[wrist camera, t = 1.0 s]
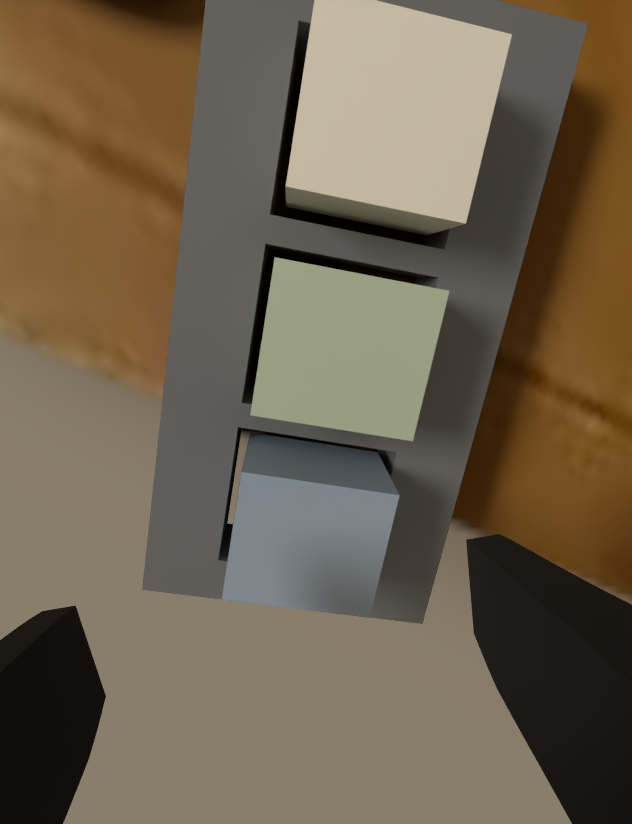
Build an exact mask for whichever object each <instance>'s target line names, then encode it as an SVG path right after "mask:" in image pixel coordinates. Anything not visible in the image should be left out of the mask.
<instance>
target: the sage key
mask: <svg viewBox="0 0 632 824" xmlns="http://www.w3.org/2000/svg"><path fill="white" fill-rule="evenodd" d="M448 295H449V291H448V290H442V289H437V288H432V287H427V286H422V285H416V284H411V283H406V282H401V281H396V280H391V279H385V278H380V277H375V276H370V275H365V274H359V273H354V272H349V271H344V270H339V269H333V268H328V267H323V266H318V265H313V264H308V263H302V262H297V261H292V260H287V259H282V258H276V257H275V258H274V264H273V271H272V277H271V284H270V290H269V297H268V303H267V310H266V316H265V323H264V329H263V336H262V342H261V348H260V355H259V361H258V368H257V374H256V381H255V387H254V394H253V400H252V407H251V413H250V415H252V416H258V417H264V418H270V419H277V420H283V421H289V422H295V423H302V424H308V425H314V426H320V427H327V428H333V429H339V430H345V431H352V432H358V433H364V434H370V435H377V436H383V437H389V438H396V439H402V440H408V441H413V438H414V434H415V430H416V426H417V422H418V418H419V414H420V410H421V406H422V402H423V397H424V393H425V389H426V385H427V381H428V377H429V373H430V369H431V365H432V361H433V356H434V352H435V348H436V344H437V340H438V336H439V332H440V328H441V324H442V320H443V316H444V311H445V307H446V303H447V299H448Z"/></svg>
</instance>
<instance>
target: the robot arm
mask: <svg viewBox="0 0 632 824" xmlns="http://www.w3.org/2000/svg"><path fill="white" fill-rule="evenodd" d="M466 541H467V553H468V565H469V577H470V590H471V603H472V615H473V627H474V635H475V637H476V640H477V642H478V644H479V647H480V649H481V652H482V654H483V657H484V659H485V662H486V664H487V666H488V669H489V671H490V673H491V676H492V678H493V680H494V683H495V685H496V687H497V689H498V691H499V693H500V695H501V696H502V698H503V700H504V702H505V704H506V706H507V708H508V709H509V711H510V713H511V715H512V717H513V719H514V720H515V722H516V724H517V726H518V728H519V729H520V731H521V733H522V735H523V737H524V738H525V740H526V742H527V744H528V746H529V747H530V749H531V751H532V752H533V754H534V756H535V758H536V760H537V761H538V763H539V765H540V767H541V769H542V771H543V772H544V774H545V776H546V778H547V780H548V781H549V783H550V785H551V787H552V788H553V790H554V792H555V794H556V795H557V797H558V799H559V801H560V803H561V805H562V806H563V808H564V810H565V811H566V813H567V815H568V817H569V819H570V821H571V822H572V824H632V605H631V604H629V603H627V602H625V601H623V600H621V599H619V598H617V597H615V596H614V595H612V594H610V593H608V592H606V591H604V590H602V589H600V588H598V587H596V586H594V585H592V584H590V583H588V582H587V581H585V580H583V579H581V578H579V577H577V576H575V575H573V574H572V573H570V572H568V571H566V570H564V569H563V568H561V567H559V566H557V565H555V564H553V563H552V562H550V561H548V560H546V559H544V558H543V557H541V556H539V555H537V554H535V553H534V552H532V551H530V550H528V549H526V548H525V547H523V546H521V545H519V544H517V543H516V542H514V541H512V540H510V539H508V538H506V537H504V536H502V535H500V534H498V535H492V536H486V537H480V538H474V539H468V540H466ZM105 698H106V696H105V693H104V690H103V687H102V684H101V681H100V678H99V675H98V672H97V669H96V666H95V663H94V660H93V657H92V654H91V651H90V648H89V645H88V642H87V639H86V636H85V633H84V630H83V627H82V624H81V621H80V618H79V615H78V612H77V609H76V606H71V607H65V608H59V609H53V610H47V611H42V612H40V613H39V614H37V615H36V616H34V617H32V618H31V619H29V620H28V621H26V622H25V623H23V624H22V625H21V626H19V627H18V628H16V629H15V630H14V631H12V632H11V633H9V634H8V635H7V636H5V637H4V638H3V639H1V640H0V824H63V822H64V820H65V817H66V815H67V812H68V810H69V807H70V805H71V802H72V800H73V797H74V795H75V792H76V790H77V787H78V785H79V782H80V780H81V777H82V775H83V772H84V770H85V767H86V764H87V762H88V759H89V756H90V753H91V749H92V746H93V743H94V739H95V736H96V732H97V728H98V725H99V721H100V717H101V713H102V709H103V705H104V701H105Z"/></svg>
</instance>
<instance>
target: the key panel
mask: <svg viewBox="0 0 632 824" xmlns="http://www.w3.org/2000/svg"><path fill="white" fill-rule="evenodd" d="M377 1H381V2H385V3H389V4H393V5H397V6H401V7H405V8H409V9H413V10H417V11H421V12H425V13H429V14H433V15H437V16H441V17H445V18H449V19H453V20H457V21H461V22H465V23H469V24H473V25H477V26H481V27H485V28H489V29H493V30H497V31H501V32H505V33H509V34H512V37H511V41H510V45H509V49H508V53H507V58H506V62H505V66H504V70H503V74H502V78H501V82H500V86H499V90H498V94H497V98H496V103H495V107H494V111H493V115H492V119H491V123H490V127H489V131H488V135H487V139H486V144H485V148H484V152H483V156H482V160H481V164H480V168H479V172H478V176H477V180H476V184H475V189H474V193H473V197H472V201H471V205H470V209H469V213H468V217H467V221H466V224H463V225H460V226H456V227H453V228H450V229H446V230H443V231H440V232H436V233H433V234H430V235H426V237H425V242H424V245H419V244H414V243H409V242H404V241H399V240H394V239H389V238H384V237H379V236H374V235H369V234H364V233H359V232H354V231H349V230H344V229H339V228H335V227H330V226H325V225H320V224H315V223H310V222H305V221H300V220H295V219H290V218H285V217H280V216H275V215H274V210H275V203H276V197H277V190H278V184H279V177H280V170H281V164H282V157H283V151H284V144H285V137H286V131H287V124H288V117H289V111H290V104H291V98H292V91H293V84H294V78H295V71H296V65H297V62H299V63H303V64H305V58H306V51H307V45H308V38H309V32H310V25H311V19H312V12H313V6H314V0H206V2H205V11H204V20H203V30H202V39H201V48H200V58H199V67H198V76H197V85H196V95H195V104H194V113H193V123H192V132H191V141H190V151H189V160H188V169H187V178H186V188H185V197H184V206H183V216H182V225H181V234H180V244H179V253H178V262H177V271H176V281H175V290H174V299H173V309H172V318H171V327H170V336H169V346H168V355H167V364H166V374H165V383H164V392H163V402H162V411H161V420H160V429H159V430H160V431H159V440H158V449H157V457H156V467H155V477H154V486H153V495H152V505H151V513H150V523H149V532H148V541H147V550H146V551H147V552H146V560H145V569H144V578H143V588H142V589H143V590H150V591H159V592H166V593H174V594H183V595H191V596H200V597H207V598H215V599H222V594H223V588H224V581H225V575H226V568H227V562H228V555H229V549H230V542H231V536H232V529H233V524H227V521H228V514H229V508H230V501H231V494H232V488H233V481H234V474H235V467H236V461H237V455H238V448H239V442H240V435H241V428H246V429H253V430H259V431H265V432H272V433H278V434H285V435H291V436H297V437H304V438H310V439H316V440H323V441H329V442H336V443H342V444H348V445H355V446H361V447H367V448H374V449H377V452H378V454H379V456H380V458H381V460H382V462H383V464H384V466H385V468H386V470H387V472H388V474H389V476H390V478H391V480H392V481H393V483H394V485H395V487H396V489H397V491H398V493H399V495H400V496H399V500H398V504H397V508H396V512H395V516H394V520H393V524H392V528H391V533H390V537H389V541H388V545H387V549H386V553H385V557H384V561H383V565H382V569H381V574H380V578H379V582H378V586H377V590H376V594H375V598H374V602H373V606H372V610H371V614H370V617H372V618H379V619H389V620H396V621H404V622H412V623H421V624H422V623H423V620H424V615H425V612H426V609H427V605H428V601H429V597H430V594H431V591H432V587H433V583H434V580H435V576H436V573H437V569H438V565H439V562H440V558H441V554H442V551H443V547H444V543H445V540H446V536H447V533H448V529H449V525H450V522H451V518H452V515H453V511H454V507H455V504H456V500H457V497H458V493H459V489H460V486H461V482H462V478H463V475H464V471H465V468H466V464H467V460H468V457H469V453H470V450H471V446H472V442H473V439H474V435H475V431H476V428H477V424H478V421H479V417H480V413H481V410H482V406H483V402H484V399H485V395H486V392H487V388H488V384H489V381H490V377H491V374H492V370H493V366H494V363H495V359H496V355H497V352H498V348H499V345H500V341H501V337H502V334H503V330H504V326H505V323H506V319H507V316H508V312H509V308H510V305H511V301H512V298H513V294H514V290H515V287H516V283H517V279H518V276H519V272H520V269H521V265H522V261H523V258H524V254H525V250H526V247H527V243H528V240H529V236H530V232H531V229H532V225H533V222H534V218H535V214H536V211H537V207H538V203H539V200H540V196H541V193H542V189H543V185H544V182H545V178H546V175H547V171H548V167H549V164H550V160H551V156H552V153H553V149H554V146H555V142H556V138H557V135H558V131H559V127H560V124H561V120H562V117H563V113H564V109H565V106H566V102H567V99H568V95H569V91H570V88H571V84H572V80H573V77H574V73H575V70H576V66H577V62H578V59H579V55H580V51H581V48H582V44H583V41H584V37H585V33H586V30H587V26H588V24H587V23H583V22H579V21H576V20H572V19H568V18H564V17H560V16H556V15H552V14H548V13H544V12H540V11H537V10H533V9H529V8H525V7H521V6H517V5H513V4H509V3H505V2H502V1H498V0H377ZM269 249H273V250H278V251H284V252H289V253H294V254H299V255H304V256H309V257H315V258H320V259H325V260H330V261H335V262H340V263H345V264H351V265H356V266H361V267H366V268H371V269H376V270H381V271H387V272H392V273H397V274H402V275H407V276H412V277H416V281H415V284H416V285H422V286H427V287H432V288H437V289H442V290H448V291H449V295H448V299H447V303H446V307H445V311H444V316H443V320H442V324H441V328H440V332H439V336H438V340H437V344H436V348H435V352H434V356H433V361H432V365H431V369H430V373H429V377H428V381H427V385H426V389H425V393H424V397H423V402H422V406H421V410H420V414H419V418H418V422H417V426H416V430H415V434H414V438H413V441H408V440H402V439H396V438H389V437H383V436H377V435H370V434H364V433H358V432H352V431H345V430H339V429H333V428H327V427H320V426H314V425H308V424H302V423H295V422H289V421H283V420H277V419H270V418H264V417H258V416H252V415H250V413H251V407H252V400H253V394H254V387H255V386H249V385H248V382H249V375H250V369H251V362H252V356H253V349H254V342H255V336H256V329H257V322H258V316H259V309H260V303H261V296H262V289H263V283H264V276H265V270H266V263H267V256H268V250H269Z"/></svg>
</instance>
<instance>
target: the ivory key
mask: <svg viewBox="0 0 632 824" xmlns="http://www.w3.org/2000/svg"><path fill="white" fill-rule="evenodd" d="M511 37H512V34H509V33H505V32H501V31H497V30H493V29H489V28H485V27H481V26H477V25H473V24H469V23H465V22H461V21H457V20H453V19H449V18H445V17H441V16H437V15H433V14H429V13H425V12H421V11H417V10H413V9H409V8H405V7H401V6H397V5H393V4H389V3H385V2H381V1H377V0H314V6H313V12H312V19H311V25H310V32H309V38H308V45H307V51H306V58H305V64H304V71H303V77H302V83H301V90H300V96H299V103H298V109H297V116H296V122H295V129H294V135H293V142H292V148H291V155H290V161H289V167H288V174H287V180H286V207H290V208H295V209H300V210H304V211H309V212H314V213H319V214H324V215H329V216H334V217H339V218H344V219H349V220H354V221H359V222H363V223H368V224H373V225H378V226H383V227H388V228H393V229H398V230H403V231H408V232H413V233H418V234H422V235H430V234H433V233H436V232H440V231H443V230H446V229H450V228H453V227H456V226H460V225H463V224H466V221H467V217H468V213H469V209H470V205H471V201H472V197H473V193H474V189H475V184H476V180H477V176H478V172H479V168H480V164H481V160H482V156H483V152H484V148H485V144H486V139H487V135H488V131H489V127H490V123H491V119H492V115H493V111H494V107H495V103H496V98H497V94H498V90H499V86H500V82H501V78H502V74H503V70H504V66H505V62H506V58H507V53H508V49H509V45H510V41H511Z"/></svg>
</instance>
